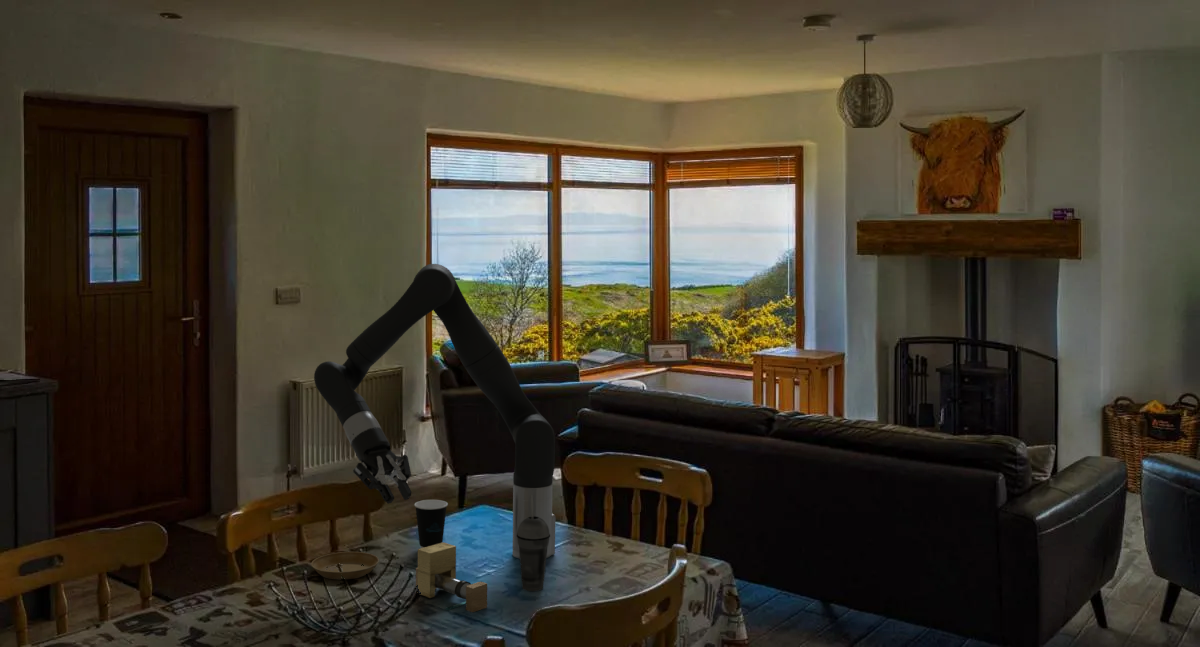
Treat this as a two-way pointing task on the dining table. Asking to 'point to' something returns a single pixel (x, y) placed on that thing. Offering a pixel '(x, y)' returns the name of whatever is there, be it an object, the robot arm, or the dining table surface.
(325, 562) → the plant saucer
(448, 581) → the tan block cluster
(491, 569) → the dining table surface
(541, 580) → the beverage cup
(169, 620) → the dining table surface
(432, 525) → the dixie cup
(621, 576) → the dining table surface
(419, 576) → the wooden block arch
